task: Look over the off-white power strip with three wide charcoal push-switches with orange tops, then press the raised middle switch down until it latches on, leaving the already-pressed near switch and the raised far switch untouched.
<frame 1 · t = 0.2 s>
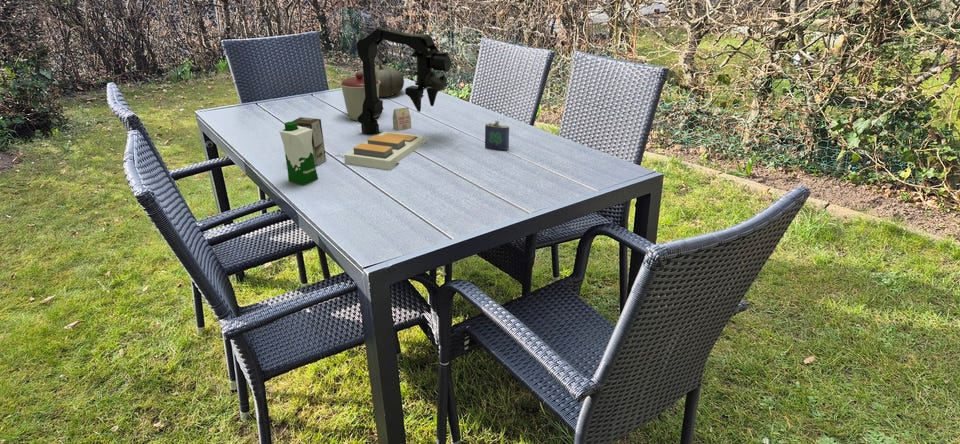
hand: (425, 108, 229), 14 cm above the table, fingers open, 9 cm apart
switch b: (386, 142, 222), point 4 cm above the table, slide at 0.0 cm
flask: (496, 149, 228), on the table
power strip: (387, 153, 224), on the table
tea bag: (402, 131, 250), on the table
milk carton: (303, 180, 200), on the table
gourd: (381, 94, 307), on the table
switch a: (398, 139, 231), point 2 cm above the table, slide at 2.0 cm
switch c: (373, 150, 213), point 4 cm above the table, slide at 0.0 cm
coffee box: (311, 162, 216), on the table
canister: (363, 118, 267), on the table
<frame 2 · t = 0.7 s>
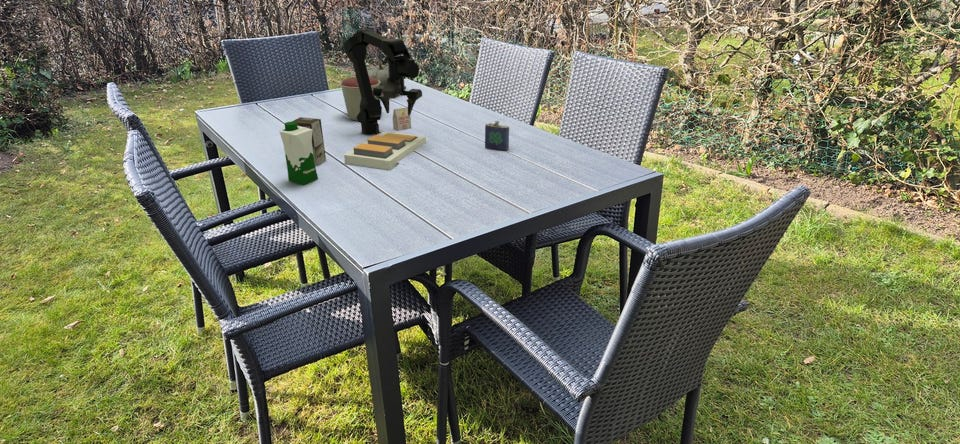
hand: (398, 114, 227), 13 cm above the table, fingers open, 9 cm apart
nothing on the table moved.
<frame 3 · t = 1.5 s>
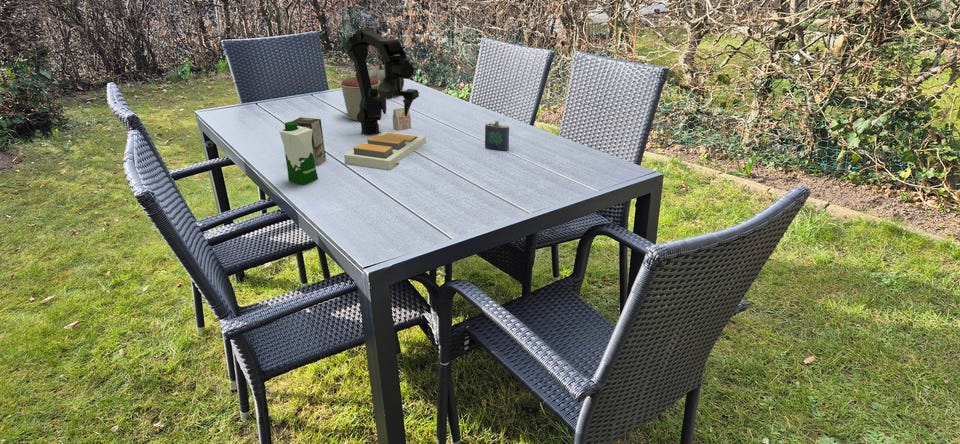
hand: (395, 114, 225), 13 cm above the table, fingers open, 9 cm apart
nothing on the table moved.
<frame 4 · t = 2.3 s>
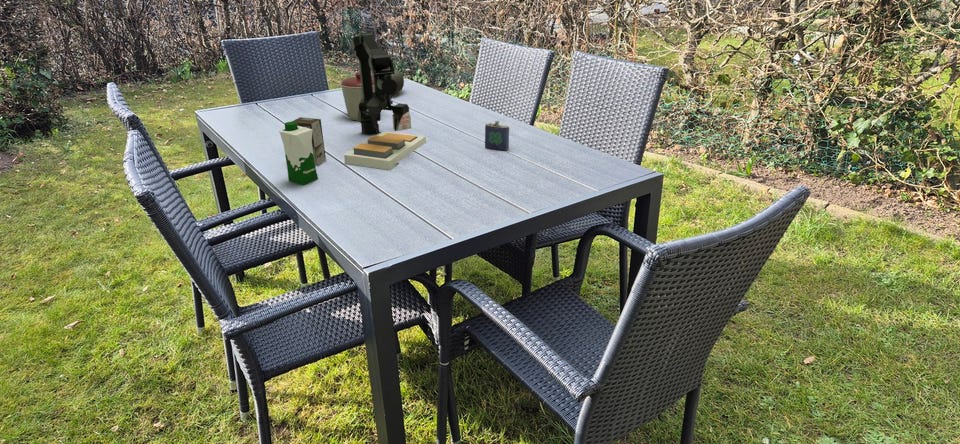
hand: (385, 129, 219), 10 cm above the table, fingers open, 9 cm apart
nothing on the table moved.
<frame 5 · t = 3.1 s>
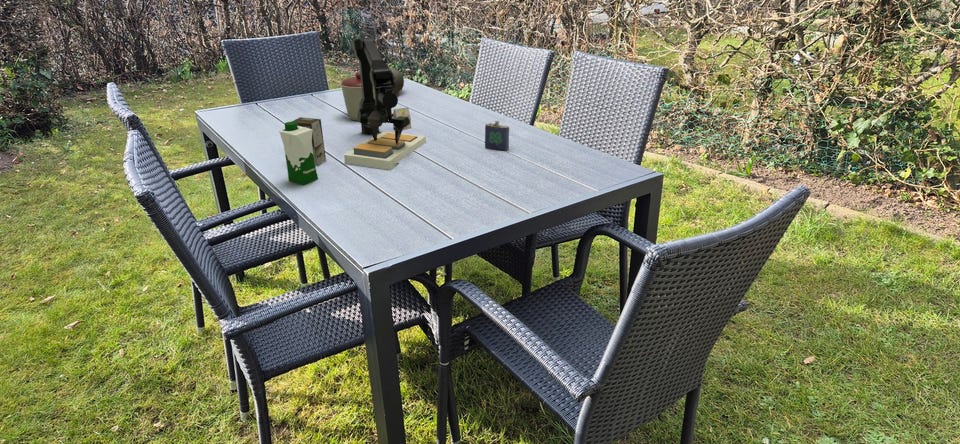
hand: (386, 141, 222), 5 cm above the table
switch b: (386, 145, 222), point 3 cm above the table, slide at 1.0 cm, touching gripper
everything else where it was.
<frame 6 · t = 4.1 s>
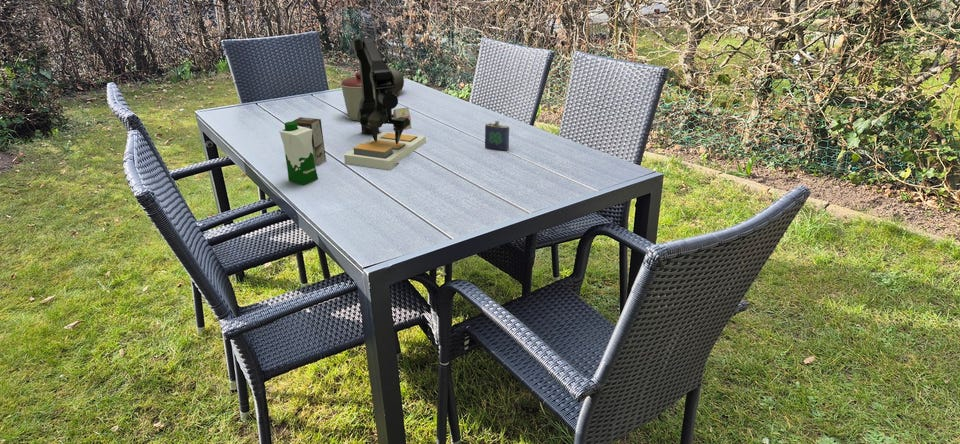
hand: (386, 142, 222), 4 cm above the table, fingers open, 9 cm apart
switch b: (386, 147, 223), point 3 cm above the table, slide at 1.9 cm
everything else where it was.
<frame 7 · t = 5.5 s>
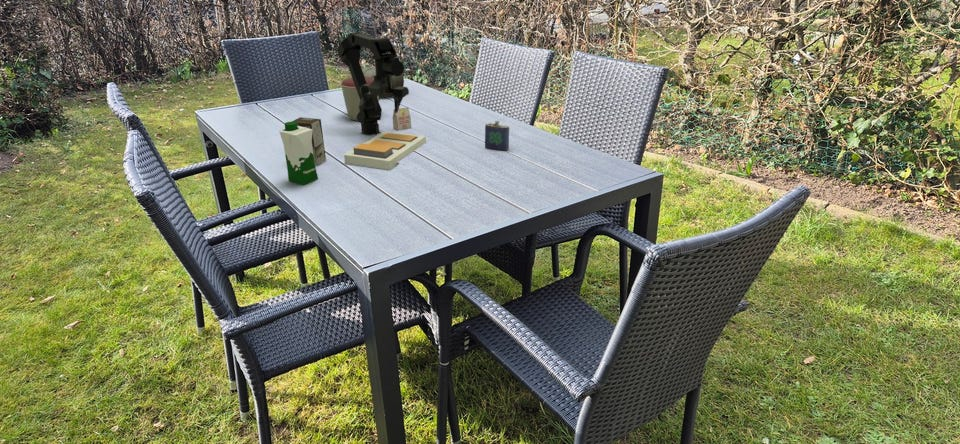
hand: (386, 111, 230), 13 cm above the table, fingers open, 9 cm apart
nothing on the table moved.
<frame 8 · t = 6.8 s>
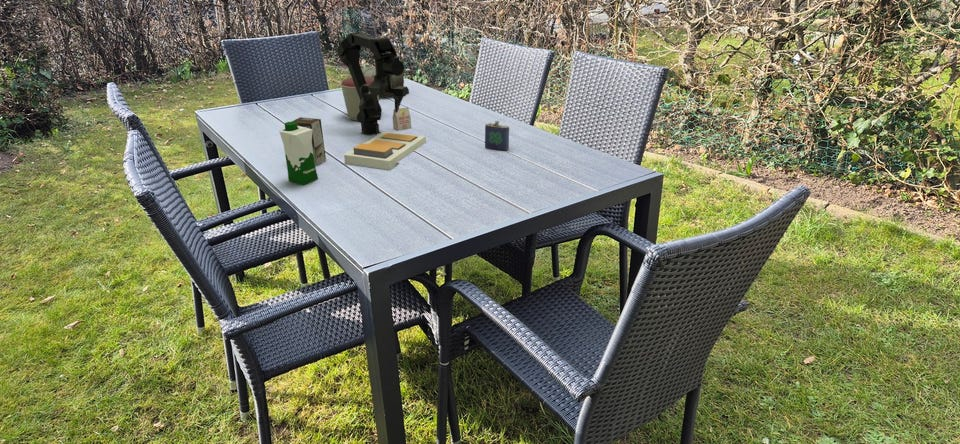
hand: (386, 111, 230), 13 cm above the table, fingers open, 9 cm apart
nothing on the table moved.
at the end: switch b slide at 1.9 cm; switch a slide at 2.0 cm; switch c slide at 0.0 cm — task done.
